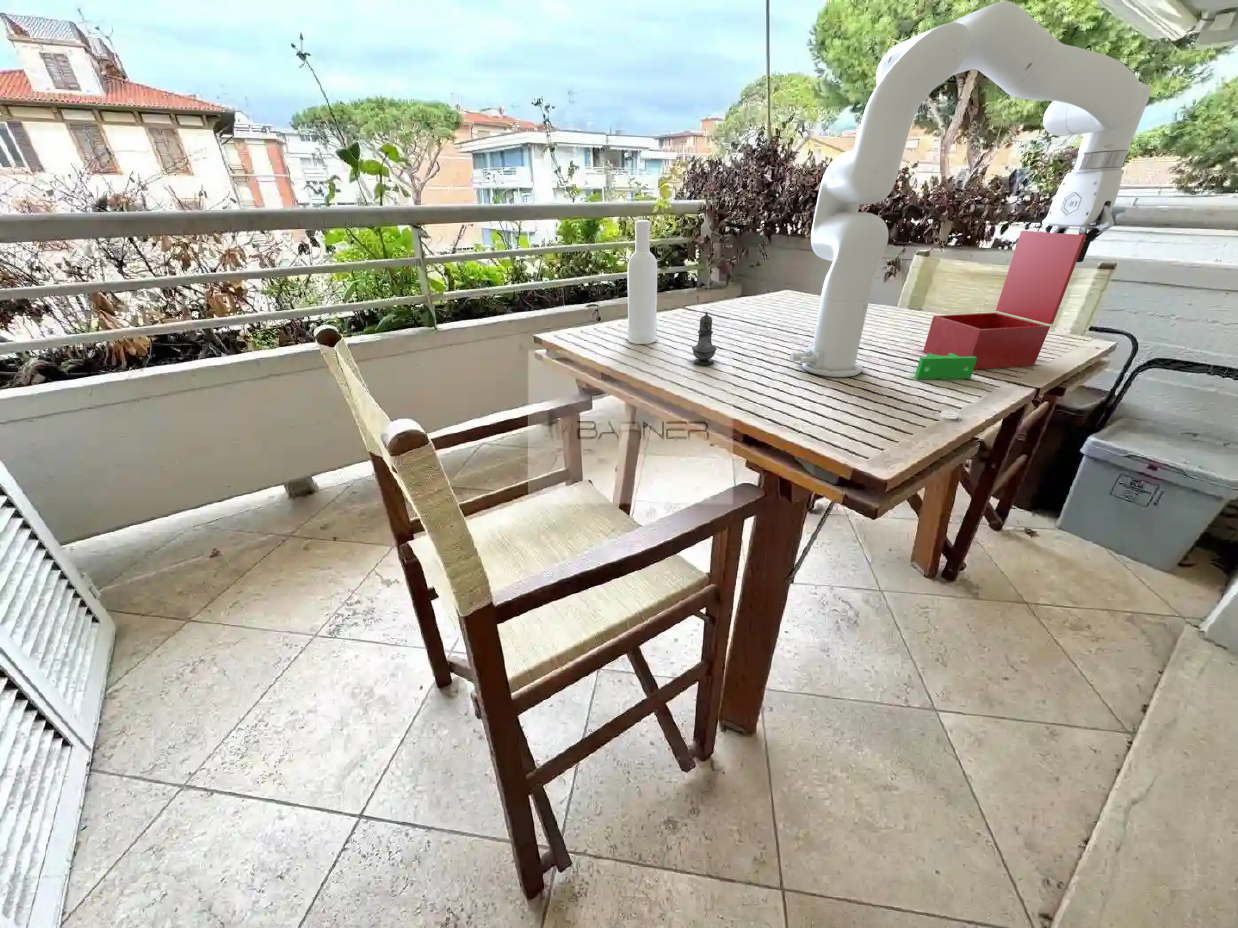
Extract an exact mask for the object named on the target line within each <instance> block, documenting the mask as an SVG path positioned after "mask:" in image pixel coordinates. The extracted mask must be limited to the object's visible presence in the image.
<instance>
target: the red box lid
mask: <svg viewBox="0 0 1238 928" xmlns="http://www.w3.org/2000/svg"><path fill="white" fill-rule="evenodd" d="M1086 236H1087V235H1079V234H1078V233H1077V234H1076V233H1065V234H1062V233H1048V232H1046V231H1033V230H1020V233H1019V236H1018V239H1017V242H1016V245H1015V247H1014V248H1015V249H1014V251H1013V255H1012V258H1011V261H1010V264H1009V267H1008V270H1007V274H1006V277H1005V280H1004V284H1003V286H1002V288H1001V292H1000V295H999V299H998V302H997V305H996V308H995V312H998V313H1002V314H1006V315H1010V316H1014V317H1015V316H1016V317H1018V318H1022V319H1026V320H1030V321H1031V320H1032V321H1034V322H1039V323H1042V324H1048V325H1053V324H1054V323H1055V319H1056V317H1057V315H1058V311H1059V309H1060V306H1061V305H1062V301H1063V298H1064V296H1065V294H1066V291H1067V288H1068V286H1069V282H1070V281H1071V278H1072V275H1073V273H1074V269H1075V267H1076V265H1077V263H1078V262H1077V259H1078V257H1079V254H1080V251H1081V249H1082V246H1083V244H1084V241H1085V238H1086Z"/></svg>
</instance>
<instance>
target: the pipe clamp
mask: <svg viewBox="0 0 1238 928" xmlns="http://www.w3.org/2000/svg"><path fill="white" fill-rule="evenodd" d="M976 361H977V358H976V357H974V356H967V357H959V356H957V355H955V354H953V353H949V355H948V356H940V355H934V354H932V353H928V354H927V355H926V356H921V357H919V361H918V362H917V363H918V364H917V366H916V371H915V374H914V379H917V380H957V379H958V380H959V379H964V380H965V379H967V380H968V379H971V378H972V375H973V372H974V370H975V369H974V366H975V364H976ZM965 367H966V368H965ZM964 368H965V369H964Z"/></svg>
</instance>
